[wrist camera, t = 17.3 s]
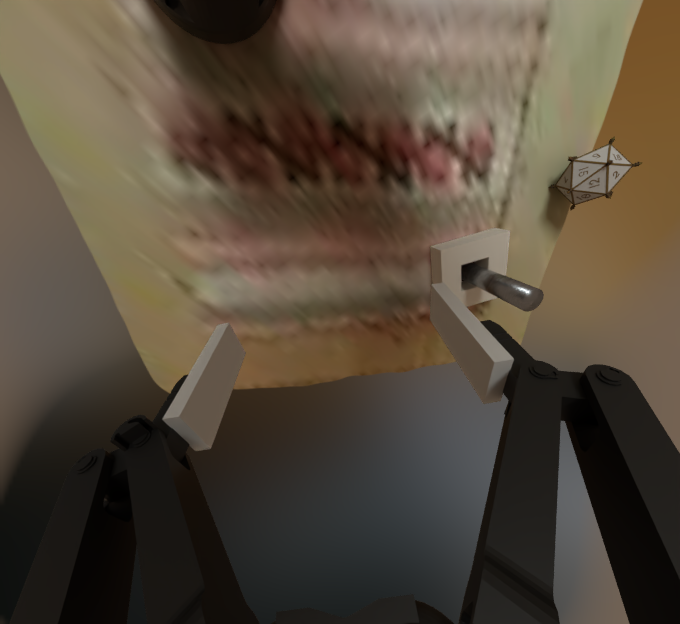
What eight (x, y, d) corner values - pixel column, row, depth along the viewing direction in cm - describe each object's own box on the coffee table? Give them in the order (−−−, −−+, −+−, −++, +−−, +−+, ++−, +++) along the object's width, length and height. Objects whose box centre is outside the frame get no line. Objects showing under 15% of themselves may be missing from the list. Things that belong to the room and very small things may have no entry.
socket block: (430, 246, 42) (440, 250, 39) (494, 227, 42) (510, 230, 39) (433, 306, 47) (443, 314, 44) (490, 289, 48) (504, 295, 45)
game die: (554, 169, 43) (643, 142, 36) (552, 217, 44) (639, 201, 37) (544, 151, 38) (647, 115, 30) (541, 208, 38) (642, 186, 31)
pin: (453, 263, 44) (522, 292, 31) (470, 258, 44) (545, 285, 31) (454, 279, 46) (519, 314, 32) (470, 274, 46) (541, 307, 32)
